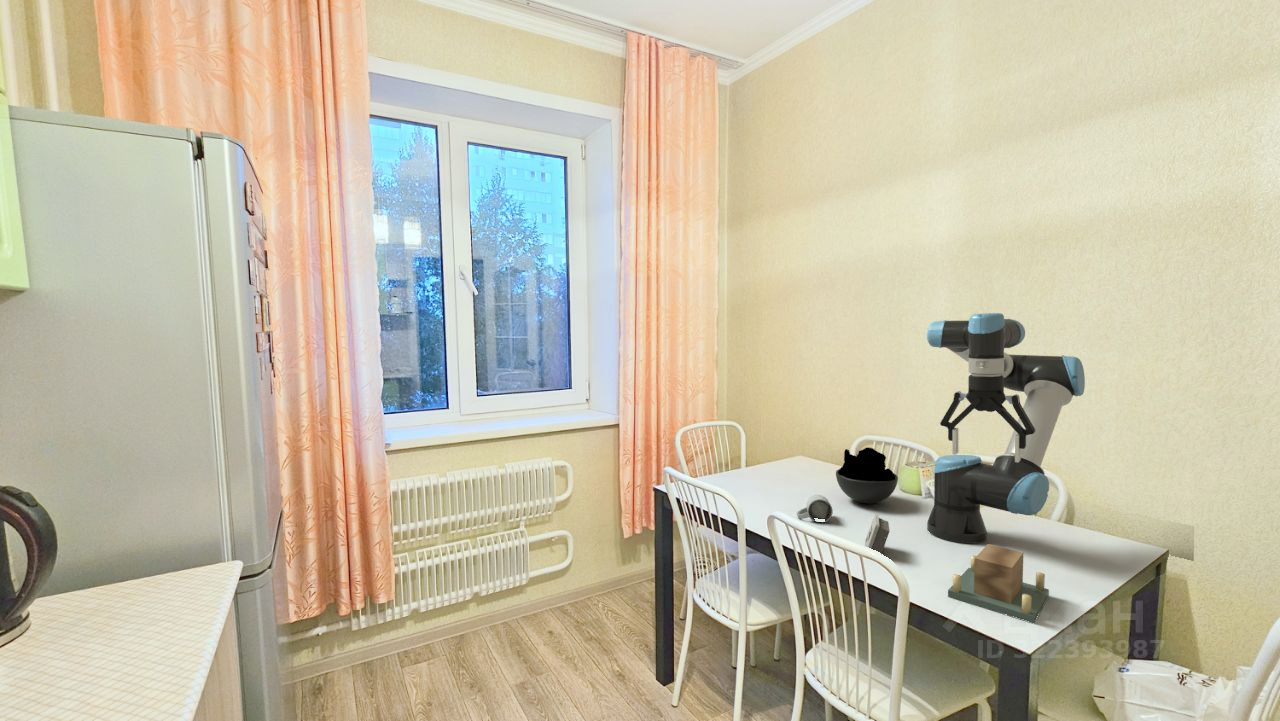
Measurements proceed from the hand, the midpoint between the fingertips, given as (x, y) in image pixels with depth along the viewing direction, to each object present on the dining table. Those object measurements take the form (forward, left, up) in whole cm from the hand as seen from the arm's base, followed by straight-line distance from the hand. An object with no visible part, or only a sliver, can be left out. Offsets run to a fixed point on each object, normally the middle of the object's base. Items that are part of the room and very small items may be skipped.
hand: (985, 457), depth 136 cm
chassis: (+7, -17, -28) cm, 33 cm away
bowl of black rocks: (-42, +27, -28) cm, 57 cm away
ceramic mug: (-47, 0, -28) cm, 55 cm away
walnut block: (+7, -17, -26) cm, 32 cm away
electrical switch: (-23, -11, -28) cm, 38 cm away
